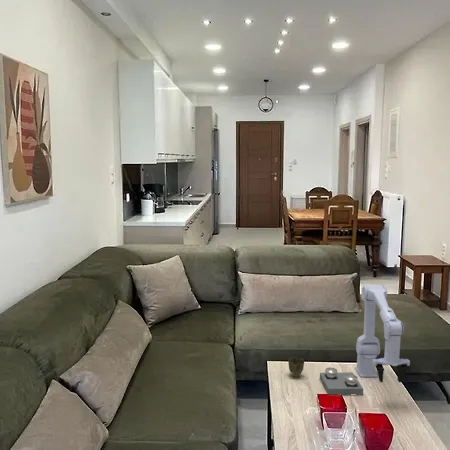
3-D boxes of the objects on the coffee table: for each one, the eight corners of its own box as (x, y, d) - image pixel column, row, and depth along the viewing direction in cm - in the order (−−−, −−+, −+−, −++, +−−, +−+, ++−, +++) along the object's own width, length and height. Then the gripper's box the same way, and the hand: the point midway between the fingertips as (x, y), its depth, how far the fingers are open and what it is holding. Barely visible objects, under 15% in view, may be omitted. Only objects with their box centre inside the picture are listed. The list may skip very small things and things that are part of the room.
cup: (306, 375, 219) (307, 358, 217) (300, 381, 212) (300, 364, 211) (291, 371, 223) (292, 355, 221) (285, 377, 216) (285, 360, 215)
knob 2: (343, 382, 207) (343, 374, 206) (355, 382, 207) (355, 374, 206) (346, 388, 202) (347, 380, 201) (358, 388, 202) (359, 380, 201)
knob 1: (323, 375, 213) (324, 367, 213) (335, 375, 213) (335, 367, 213) (326, 380, 208) (327, 372, 208) (338, 380, 208) (338, 372, 208)
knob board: (319, 378, 215) (320, 372, 215) (352, 378, 216) (352, 372, 215) (328, 395, 200) (328, 388, 200) (362, 395, 201) (363, 388, 200)
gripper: (377, 354, 186) (375, 386, 188) (413, 354, 186) (411, 386, 188) (371, 346, 193) (370, 377, 195) (406, 346, 193) (404, 377, 195)
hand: (389, 381), depth 192 cm, fingers open, 7 cm apart
